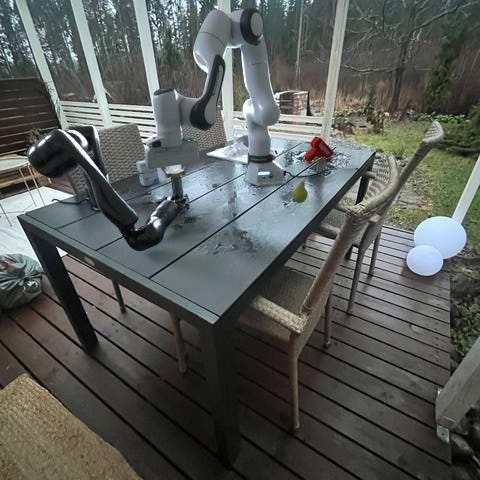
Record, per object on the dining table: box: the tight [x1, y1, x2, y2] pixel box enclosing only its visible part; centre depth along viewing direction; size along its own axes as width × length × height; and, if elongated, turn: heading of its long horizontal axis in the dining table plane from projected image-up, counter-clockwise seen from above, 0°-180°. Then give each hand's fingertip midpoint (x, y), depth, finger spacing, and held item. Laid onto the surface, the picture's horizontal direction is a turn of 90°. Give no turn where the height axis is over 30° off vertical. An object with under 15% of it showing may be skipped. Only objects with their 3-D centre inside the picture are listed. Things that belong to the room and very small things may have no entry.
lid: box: [167, 169, 183, 178], centre depth 105 cm, size 5×5×2 cm
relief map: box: [206, 141, 272, 165], centre depth 185 cm, size 27×35×5 cm
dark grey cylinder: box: [169, 176, 187, 215], centre depth 110 cm, size 4×4×17 cm
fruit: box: [291, 174, 311, 204], centre depth 118 cm, size 7×8×12 cm
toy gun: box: [303, 135, 335, 164], centre depth 171 cm, size 18×4×15 cm
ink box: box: [135, 159, 160, 187], centre depth 139 cm, size 8×5×12 cm, turn 135°
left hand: (180, 195), depth 113 cm, fingers closed on dark grey cylinder, 4 cm apart
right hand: (175, 176), depth 106 cm, fingers closed on lid, 5 cm apart
